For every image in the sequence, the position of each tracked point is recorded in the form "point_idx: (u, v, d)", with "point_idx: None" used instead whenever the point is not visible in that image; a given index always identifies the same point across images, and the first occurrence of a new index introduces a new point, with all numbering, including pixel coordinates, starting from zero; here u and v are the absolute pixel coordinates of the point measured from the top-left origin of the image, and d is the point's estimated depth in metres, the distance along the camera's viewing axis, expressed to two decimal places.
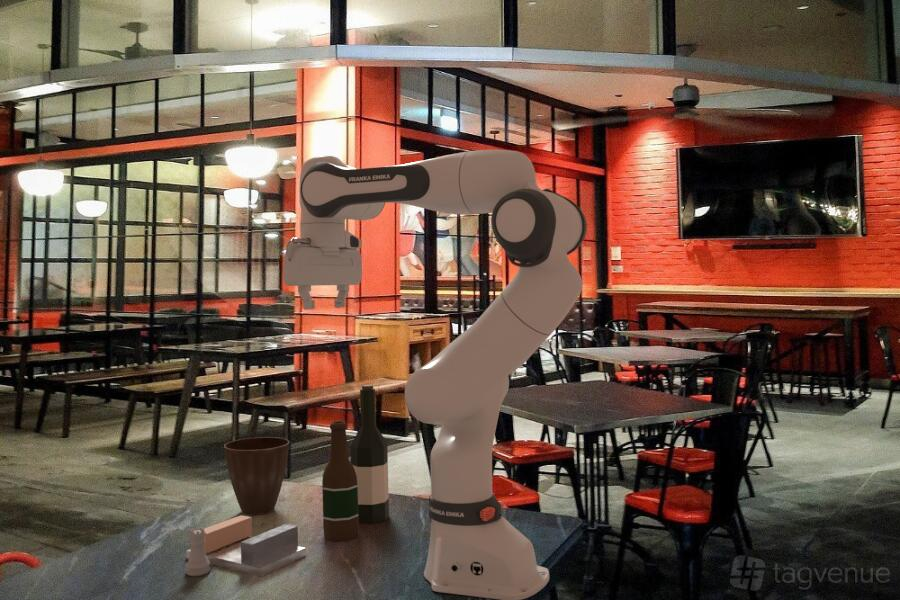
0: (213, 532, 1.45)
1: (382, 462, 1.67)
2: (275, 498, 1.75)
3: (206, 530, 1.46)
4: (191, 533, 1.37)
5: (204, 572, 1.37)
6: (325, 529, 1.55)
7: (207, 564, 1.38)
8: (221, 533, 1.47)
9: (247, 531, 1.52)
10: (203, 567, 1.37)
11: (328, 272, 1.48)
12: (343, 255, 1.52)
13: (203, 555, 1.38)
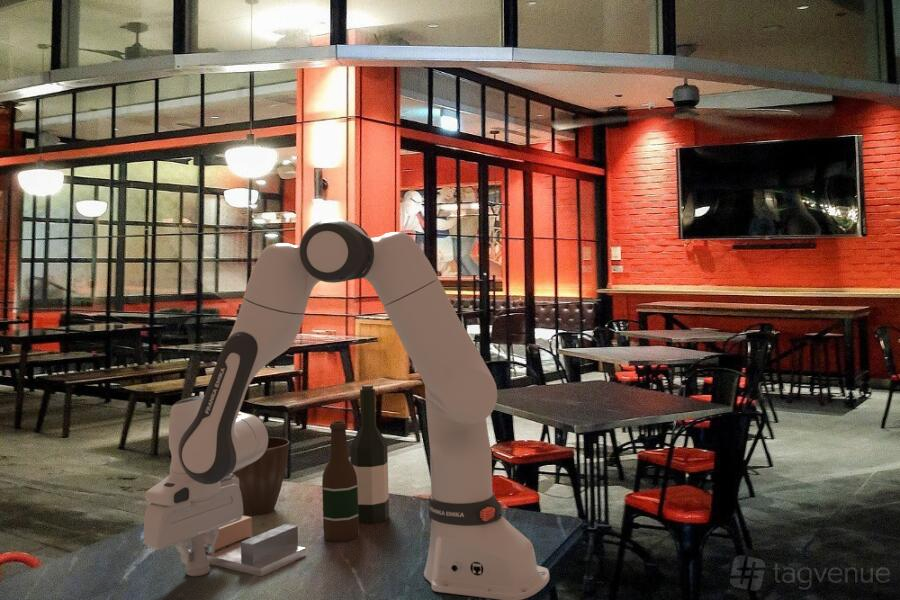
0: None
1: (382, 462, 1.67)
2: (275, 498, 1.75)
3: None
4: None
5: (204, 572, 1.37)
6: (325, 529, 1.55)
7: (207, 564, 1.38)
8: (221, 533, 1.47)
9: (247, 531, 1.52)
10: (203, 567, 1.37)
11: None
12: None
13: (203, 555, 1.38)
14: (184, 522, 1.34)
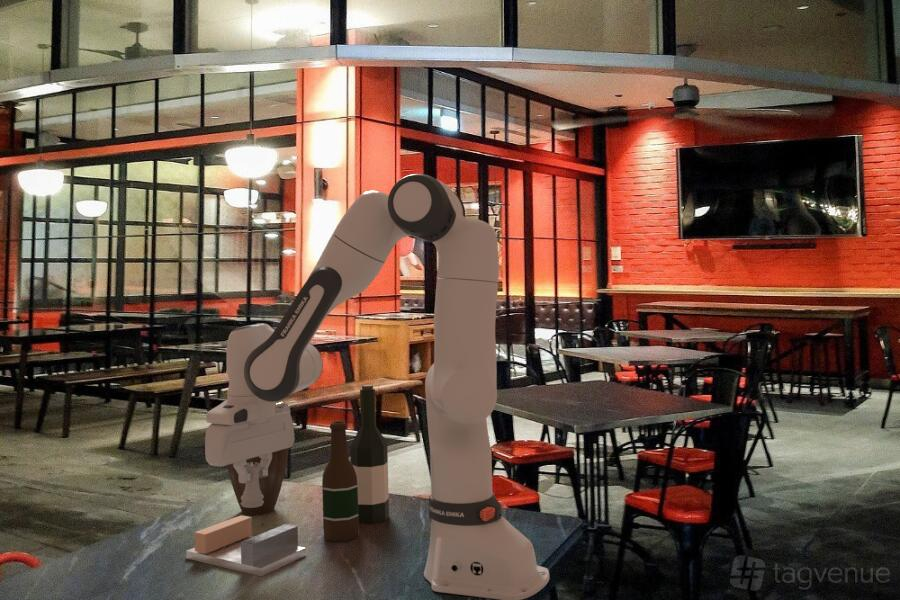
0: (213, 532, 1.45)
1: (382, 462, 1.67)
2: (275, 498, 1.75)
3: (206, 530, 1.46)
4: (247, 466, 1.44)
5: (258, 504, 1.43)
6: (325, 529, 1.55)
7: (261, 497, 1.44)
8: (221, 533, 1.47)
9: (247, 531, 1.52)
10: (258, 499, 1.43)
11: None
12: None
13: (258, 488, 1.44)
14: (242, 443, 1.40)
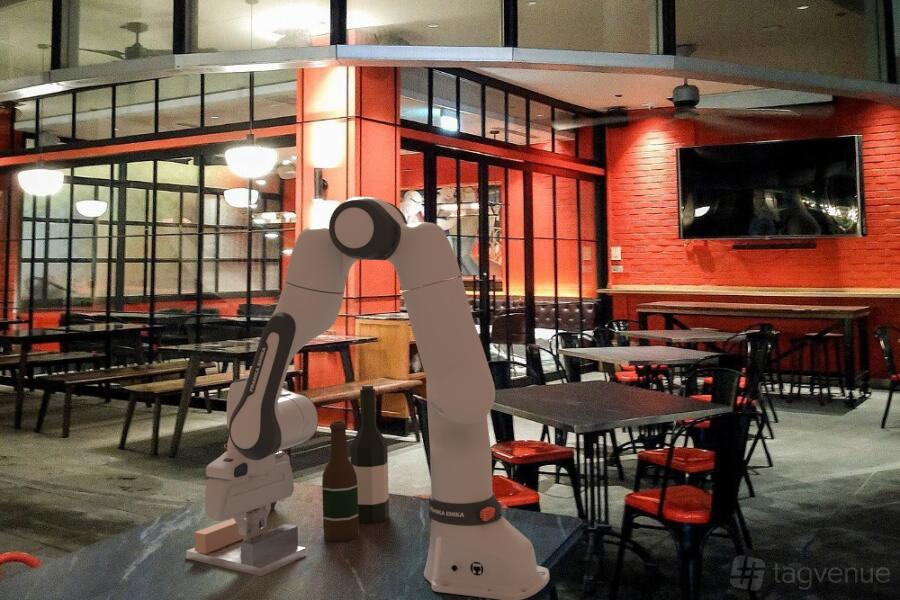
0: (213, 532, 1.45)
1: (382, 462, 1.67)
2: None
3: (206, 530, 1.46)
4: (247, 512, 1.44)
5: None
6: (325, 529, 1.55)
7: None
8: (221, 533, 1.47)
9: None
10: None
11: None
12: None
13: (258, 534, 1.44)
14: (242, 496, 1.40)
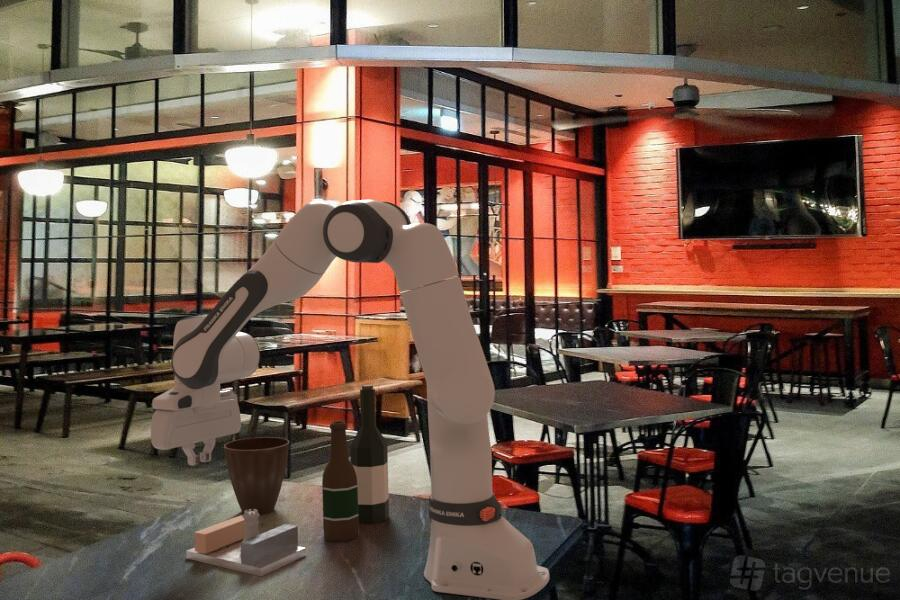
0: (213, 532, 1.45)
1: (382, 462, 1.67)
2: (275, 498, 1.75)
3: (206, 530, 1.46)
4: (246, 514, 1.43)
5: None
6: (325, 529, 1.55)
7: None
8: (221, 533, 1.47)
9: None
10: None
11: None
12: None
13: None
14: (187, 428, 1.48)
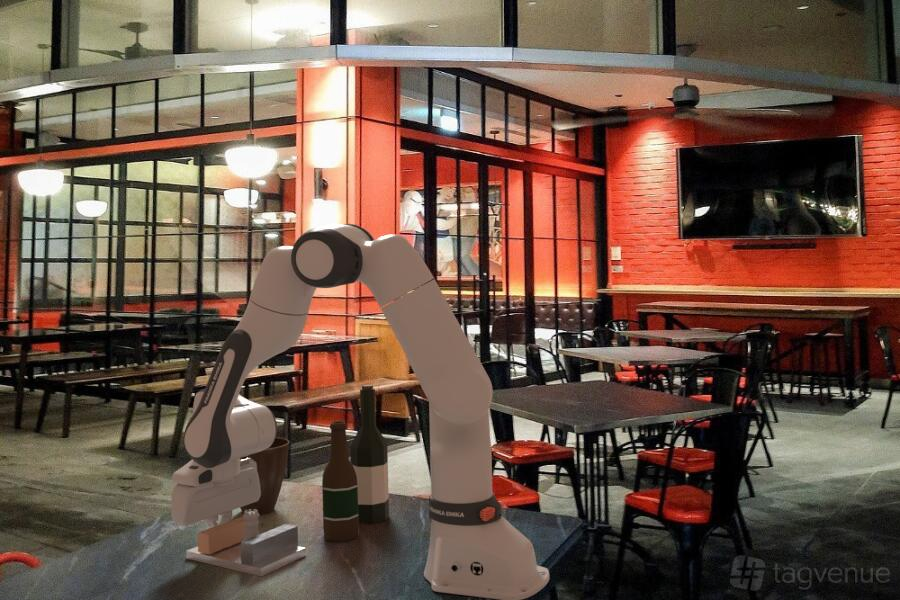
0: (216, 532, 1.45)
1: (382, 462, 1.67)
2: (275, 498, 1.75)
3: (209, 531, 1.45)
4: (246, 514, 1.43)
5: None
6: (325, 529, 1.55)
7: None
8: (224, 534, 1.46)
9: None
10: None
11: None
12: None
13: None
14: (208, 502, 1.45)
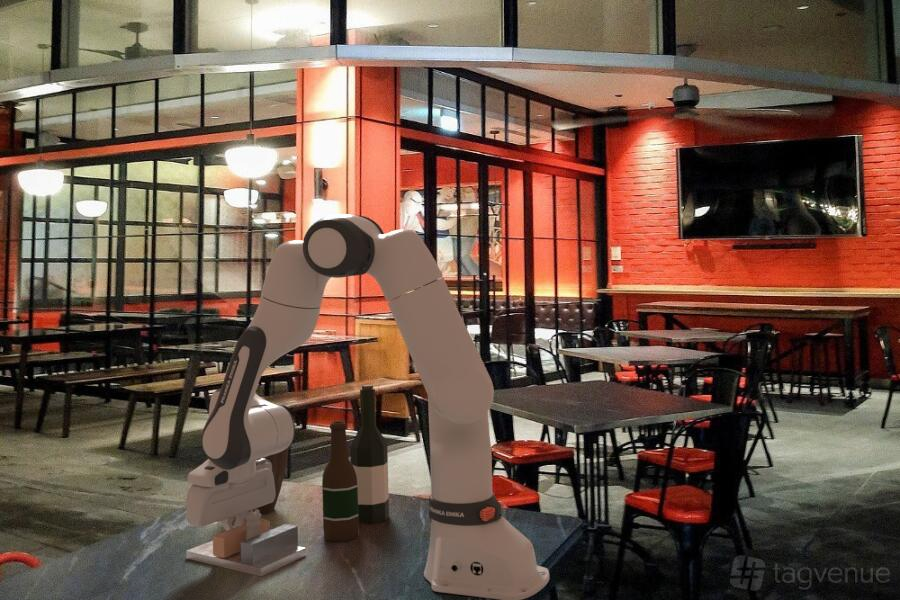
0: (232, 535, 1.42)
1: (382, 462, 1.67)
2: (275, 498, 1.75)
3: (224, 534, 1.43)
4: (247, 514, 1.43)
5: None
6: (325, 529, 1.55)
7: None
8: (239, 537, 1.44)
9: None
10: None
11: None
12: None
13: None
14: (223, 503, 1.43)
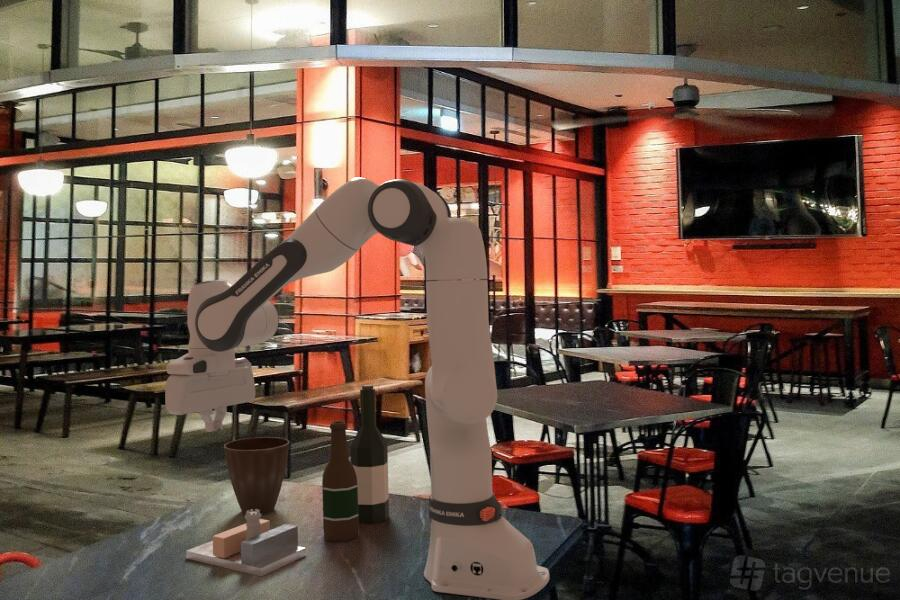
0: (232, 535, 1.42)
1: (382, 462, 1.67)
2: (275, 498, 1.75)
3: (224, 534, 1.43)
4: (248, 514, 1.43)
5: None
6: (325, 529, 1.55)
7: None
8: (239, 537, 1.44)
9: None
10: None
11: None
12: None
13: None
14: (202, 393, 1.45)
